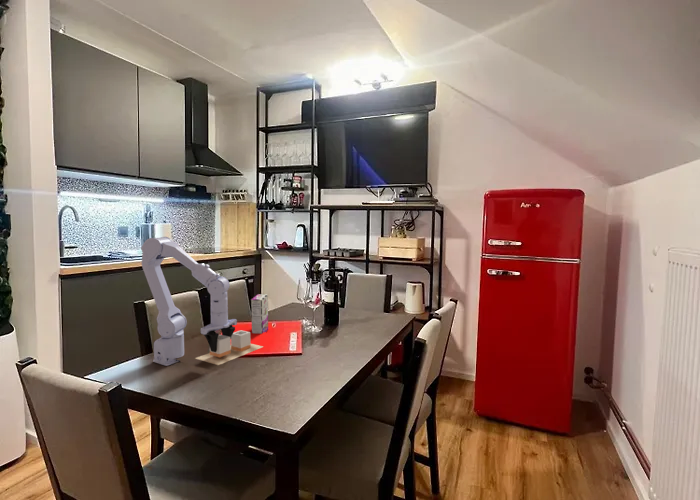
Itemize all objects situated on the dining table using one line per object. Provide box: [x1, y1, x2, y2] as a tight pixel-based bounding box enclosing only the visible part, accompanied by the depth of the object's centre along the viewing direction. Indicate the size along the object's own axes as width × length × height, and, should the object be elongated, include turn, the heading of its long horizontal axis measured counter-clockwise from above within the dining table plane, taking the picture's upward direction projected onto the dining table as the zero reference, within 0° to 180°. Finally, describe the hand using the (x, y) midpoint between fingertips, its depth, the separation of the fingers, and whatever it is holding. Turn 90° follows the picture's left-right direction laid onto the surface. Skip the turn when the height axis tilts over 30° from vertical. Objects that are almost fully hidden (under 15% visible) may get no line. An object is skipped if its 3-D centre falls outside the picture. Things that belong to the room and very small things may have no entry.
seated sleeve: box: [230, 330, 252, 351], centre depth 145 cm, size 5×5×6 cm
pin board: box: [194, 343, 264, 366], centre depth 141 cm, size 22×12×5 cm, turn 150°
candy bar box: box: [250, 293, 269, 334], centre depth 170 cm, size 11×5×16 cm, turn 179°
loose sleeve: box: [209, 334, 231, 357], centre depth 137 cm, size 5×5×6 cm
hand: (219, 348), depth 137 cm, fingers open, 5 cm apart
